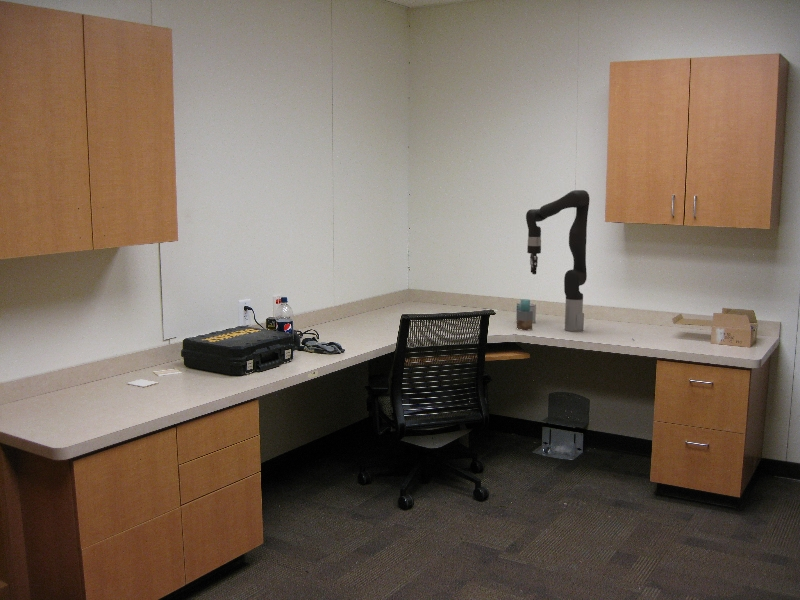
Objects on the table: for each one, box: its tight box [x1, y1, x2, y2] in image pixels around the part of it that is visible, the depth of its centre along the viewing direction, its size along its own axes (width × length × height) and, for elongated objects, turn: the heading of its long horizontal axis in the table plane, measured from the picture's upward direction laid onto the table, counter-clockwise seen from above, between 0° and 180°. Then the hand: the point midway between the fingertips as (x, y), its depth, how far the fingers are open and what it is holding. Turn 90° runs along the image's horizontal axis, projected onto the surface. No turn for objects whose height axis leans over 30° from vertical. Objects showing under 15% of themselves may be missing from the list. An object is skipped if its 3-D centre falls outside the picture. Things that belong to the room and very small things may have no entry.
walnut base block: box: [516, 320, 533, 331], centre depth 442 cm, size 6×6×5 cm
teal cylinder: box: [520, 298, 531, 312], centre depth 440 cm, size 5×5×6 cm
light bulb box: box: [515, 302, 537, 324], centre depth 462 cm, size 11×7×11 cm, turn 25°
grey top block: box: [516, 310, 533, 321], centre depth 441 cm, size 6×6×5 cm
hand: (533, 273), depth 458 cm, fingers open, 8 cm apart
